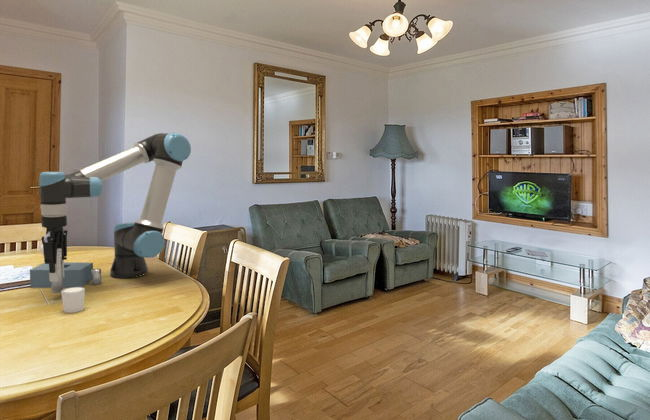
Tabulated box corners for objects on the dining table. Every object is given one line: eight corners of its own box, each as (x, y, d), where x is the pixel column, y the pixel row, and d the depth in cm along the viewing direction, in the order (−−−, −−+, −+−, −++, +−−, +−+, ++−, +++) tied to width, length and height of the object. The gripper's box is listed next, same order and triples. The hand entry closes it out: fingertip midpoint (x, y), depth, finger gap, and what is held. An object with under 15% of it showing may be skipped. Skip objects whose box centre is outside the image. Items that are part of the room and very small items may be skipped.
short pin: (102, 282, 167) (102, 268, 167) (99, 285, 164) (99, 270, 163) (93, 282, 167) (93, 268, 166) (90, 285, 164) (89, 270, 163)
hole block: (93, 278, 172) (92, 262, 171) (80, 287, 160) (79, 270, 159) (46, 278, 169) (46, 262, 168) (30, 287, 157) (29, 269, 157)
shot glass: (79, 304, 142) (79, 285, 142) (89, 309, 138) (88, 289, 138) (57, 310, 137) (57, 289, 136) (67, 315, 133) (66, 294, 132)
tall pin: (65, 289, 150) (63, 247, 148) (60, 293, 146) (58, 249, 144) (54, 290, 149) (52, 247, 147) (50, 293, 146) (47, 249, 144)
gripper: (54, 212, 152) (57, 272, 155) (29, 218, 136) (32, 286, 139) (76, 212, 153) (78, 272, 156) (53, 219, 137) (56, 286, 140)
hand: (57, 279), depth 147 cm, fingers closed on tall pin, 3 cm apart
